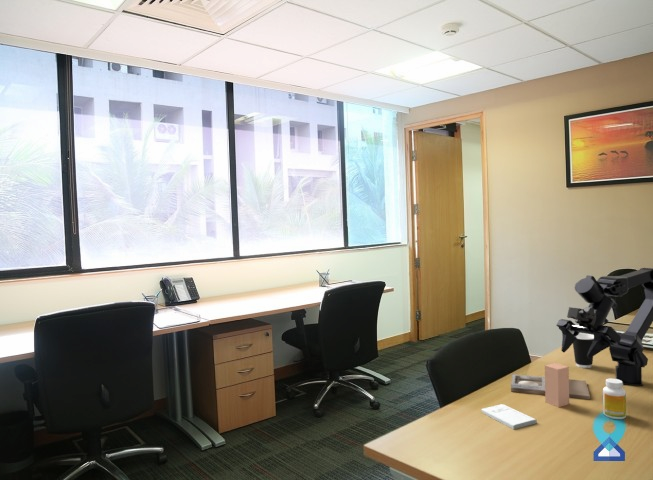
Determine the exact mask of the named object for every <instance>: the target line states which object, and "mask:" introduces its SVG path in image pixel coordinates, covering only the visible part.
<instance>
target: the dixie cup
mask: <svg viewBox="0 0 653 480" xmlns="http://www.w3.org/2000/svg"><path fill="white" fill-rule="evenodd" d="M575 337H577V339H576V340H575V341H574V342H573V344H572V346H573V347H572V348H573V353H574V361H575V364H576V367H578V368H581V369H582V368H583V369H591V368H592V367H593V366H592V365H593V362H594V356H593V357H591V358H588V357H587V354H588V351H589V349H590V347H591V345H592V343H593V341H594V335H592V334H586V333H580V332H579V334H578V335H577V336H575Z"/></svg>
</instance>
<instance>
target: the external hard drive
mask: <svg viewBox="0 0 653 480" xmlns="http://www.w3.org/2000/svg"><path fill="white" fill-rule="evenodd" d="M480 412H482V413H481V414H483V413H484V414H483V415H485V414H486V415H485V416H487V417H489V418H491V419H493V420H495V421H497V422H499V423H500V424H502V425H504V426H506V427H508V428H510V429H512V430H516V429H520V428H524V427H528V426H531V425H534V424H537V419H536V418H534V417H532V416H530V415H527V414H525V413H523V412H521V411H520V410H519V411H518V410H516V409H514V408H512V407H510V406H508V405H505V404H504V403H500V404H497V405H491V406H489V407H483V408H481V409H480Z"/></svg>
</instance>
